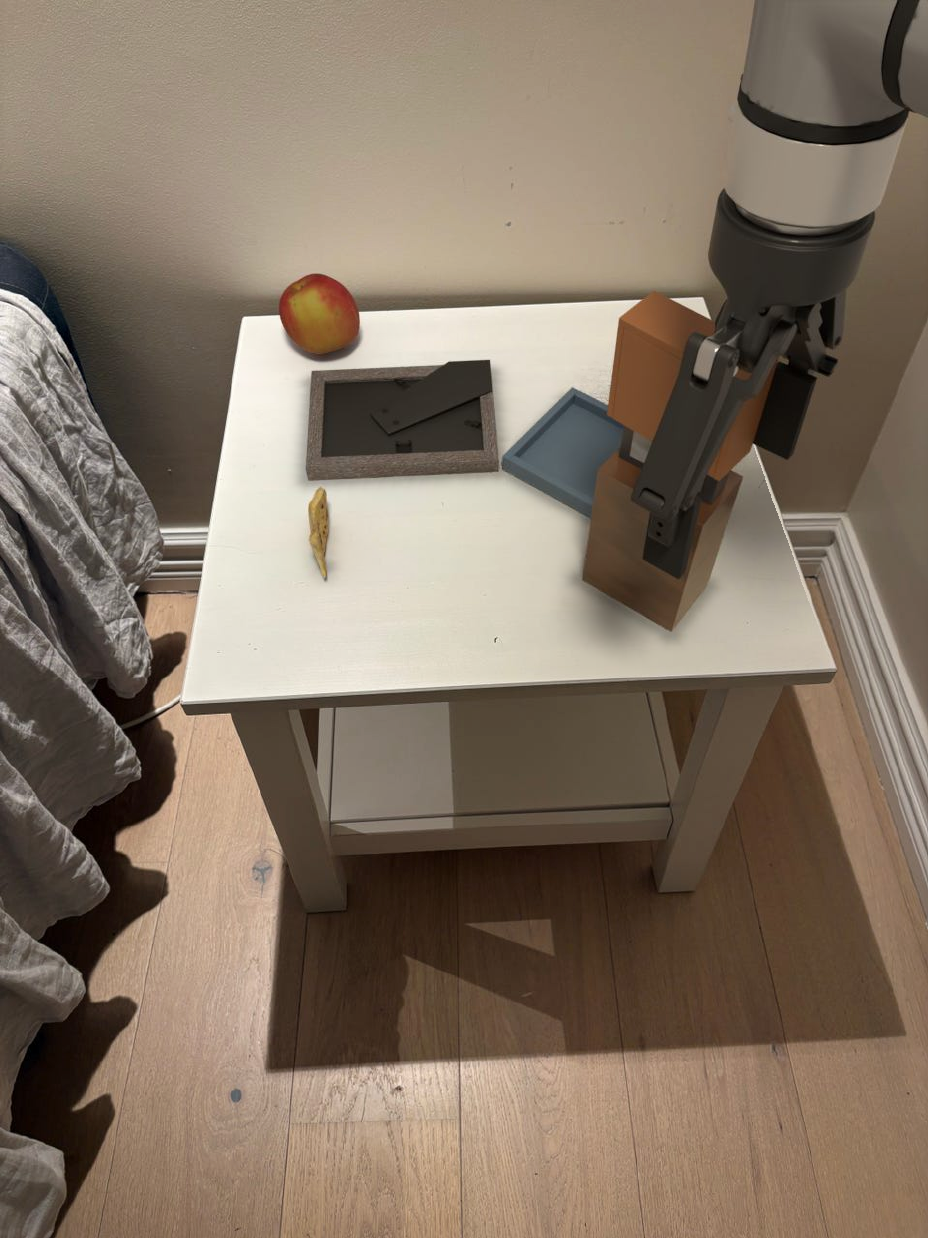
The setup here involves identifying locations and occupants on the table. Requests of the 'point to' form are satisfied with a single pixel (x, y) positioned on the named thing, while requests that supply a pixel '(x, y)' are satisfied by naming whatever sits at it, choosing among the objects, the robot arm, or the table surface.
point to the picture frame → (402, 421)
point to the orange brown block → (669, 375)
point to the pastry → (318, 526)
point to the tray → (566, 450)
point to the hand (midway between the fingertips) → (720, 505)
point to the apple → (319, 314)
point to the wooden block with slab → (624, 533)
